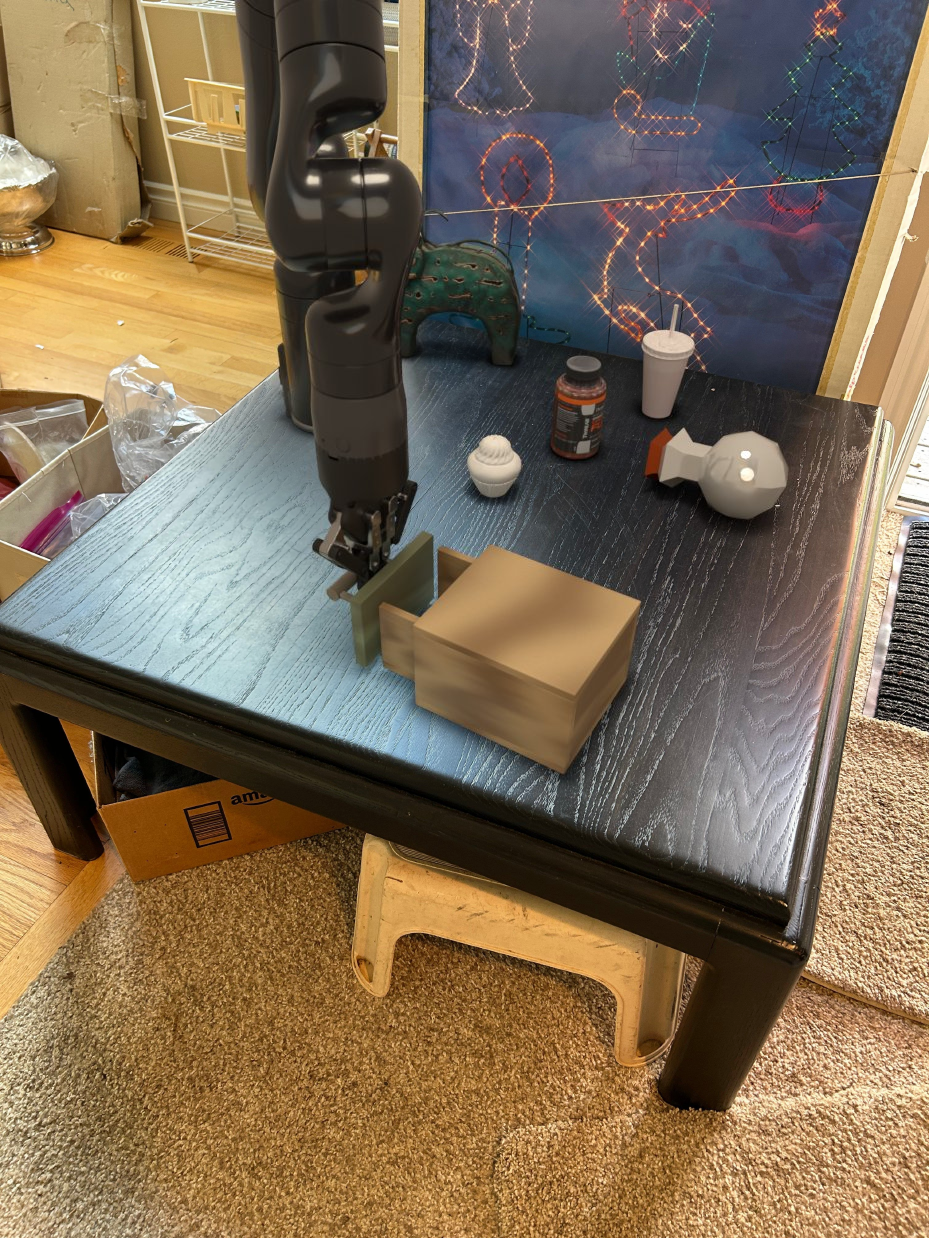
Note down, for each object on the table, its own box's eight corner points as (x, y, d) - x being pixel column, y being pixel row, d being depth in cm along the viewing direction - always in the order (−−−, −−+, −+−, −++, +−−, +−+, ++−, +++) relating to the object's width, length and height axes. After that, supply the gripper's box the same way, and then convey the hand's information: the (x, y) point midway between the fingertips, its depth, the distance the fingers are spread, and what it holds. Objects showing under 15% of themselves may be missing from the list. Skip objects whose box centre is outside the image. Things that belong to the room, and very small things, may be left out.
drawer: (316, 645, 83) (307, 580, 78) (386, 578, 91) (383, 514, 85) (483, 723, 77) (486, 659, 71) (545, 644, 84) (552, 580, 79)
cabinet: (415, 704, 79) (412, 624, 73) (487, 621, 87) (490, 543, 81) (563, 774, 74) (574, 695, 67) (626, 680, 82) (641, 600, 75)
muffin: (458, 498, 102) (458, 444, 98) (477, 470, 107) (478, 418, 102) (509, 510, 101) (512, 456, 96) (527, 481, 105) (530, 429, 100)
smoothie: (688, 407, 118) (709, 303, 109) (669, 428, 114) (689, 323, 105) (643, 394, 121) (660, 291, 111) (623, 414, 117) (639, 309, 107)
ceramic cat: (376, 359, 127) (367, 211, 114) (386, 339, 132) (379, 195, 118) (515, 371, 125) (524, 222, 111) (521, 351, 130) (530, 205, 116)
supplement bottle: (596, 464, 108) (607, 378, 100) (546, 458, 109) (554, 372, 101) (600, 438, 112) (611, 354, 105) (553, 433, 113) (560, 348, 105)
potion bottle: (773, 543, 99) (649, 509, 107) (806, 465, 101) (681, 437, 108) (763, 508, 91) (630, 474, 99) (799, 424, 93) (665, 397, 100)
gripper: (370, 383, 78) (380, 542, 89) (270, 453, 69) (296, 619, 81) (444, 406, 75) (444, 567, 87) (349, 482, 67) (364, 649, 78)
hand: (373, 592), depth 84 cm, fingers closed
